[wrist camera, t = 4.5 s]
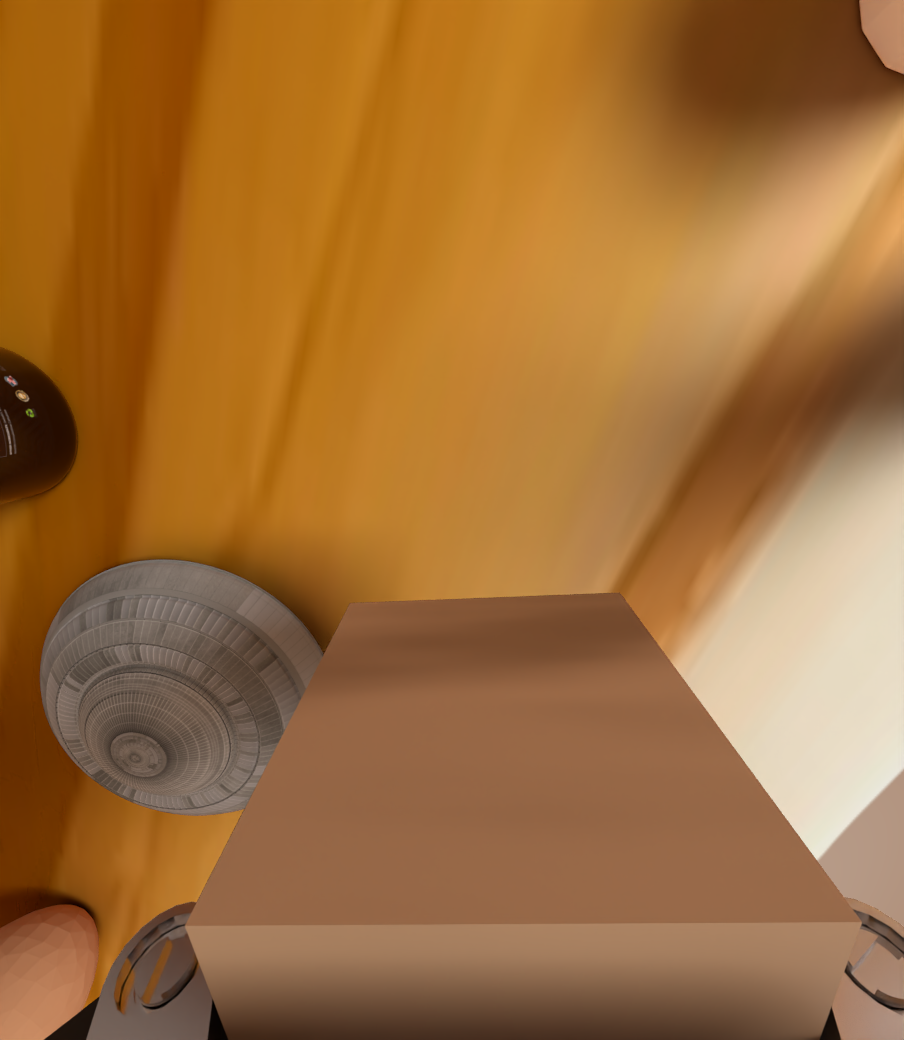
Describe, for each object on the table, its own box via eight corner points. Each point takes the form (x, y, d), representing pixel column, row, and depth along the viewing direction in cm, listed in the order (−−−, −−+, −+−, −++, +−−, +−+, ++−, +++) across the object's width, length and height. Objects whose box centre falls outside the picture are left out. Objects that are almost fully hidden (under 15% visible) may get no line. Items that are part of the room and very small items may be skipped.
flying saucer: (183, 814, 26) (114, 919, 21) (12, 621, 23) (-124, 690, 18) (393, 728, 24) (374, 822, 19) (240, 498, 20) (163, 535, 15)
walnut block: (350, 602, 10) (184, 926, 4) (619, 592, 9) (861, 922, 4) (379, 801, 11) (296, 1215, 6) (605, 797, 11) (751, 1227, 6)
